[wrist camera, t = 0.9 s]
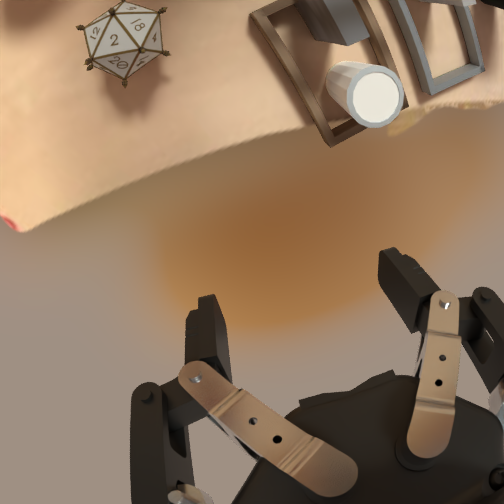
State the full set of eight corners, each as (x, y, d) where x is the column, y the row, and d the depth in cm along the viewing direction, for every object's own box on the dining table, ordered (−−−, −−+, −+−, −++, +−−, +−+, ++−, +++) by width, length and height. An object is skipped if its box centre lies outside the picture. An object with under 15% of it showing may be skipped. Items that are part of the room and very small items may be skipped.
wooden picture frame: (249, 14, 24) (265, 9, 18) (344, -25, 21) (382, -33, 15) (324, 141, 35) (352, 171, 29) (400, 101, 32) (438, 124, 26)
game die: (155, 35, 26) (203, 61, 23) (93, 81, 26) (126, 117, 23) (125, -22, 18) (171, -17, 15) (52, 28, 17) (72, 47, 14)
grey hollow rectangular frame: (371, -33, 20) (413, -39, 14) (437, -45, 17) (481, -45, 11) (422, 91, 31) (461, 111, 25) (475, 67, 28) (515, 84, 22)
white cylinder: (368, 52, 28) (401, 62, 23) (375, 103, 32) (406, 122, 27) (315, 60, 28) (341, 70, 23) (325, 114, 33) (351, 134, 28)
